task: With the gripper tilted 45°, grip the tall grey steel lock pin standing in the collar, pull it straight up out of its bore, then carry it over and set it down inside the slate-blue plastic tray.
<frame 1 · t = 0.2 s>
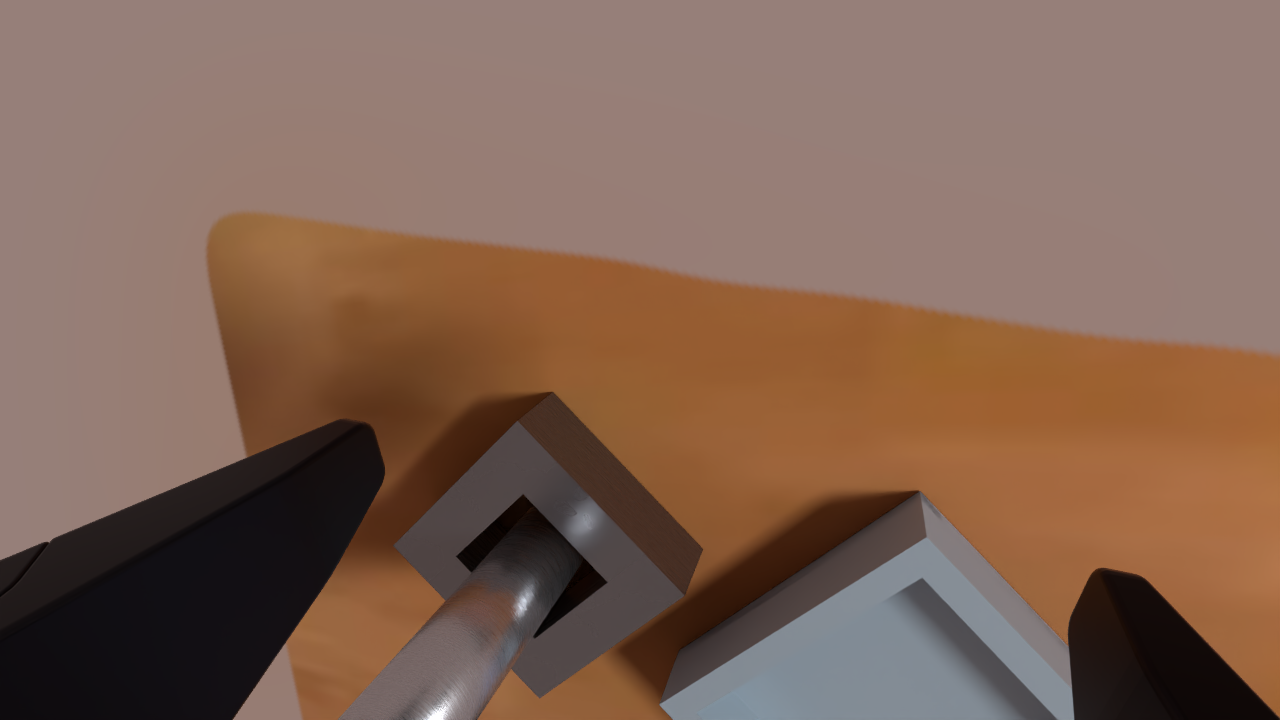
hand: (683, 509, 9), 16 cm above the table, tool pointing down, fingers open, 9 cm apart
lock pin: (480, 631, 23), in the pin collar
pin collar: (561, 527, 29), on the table
tray: (897, 693, 26), on the table
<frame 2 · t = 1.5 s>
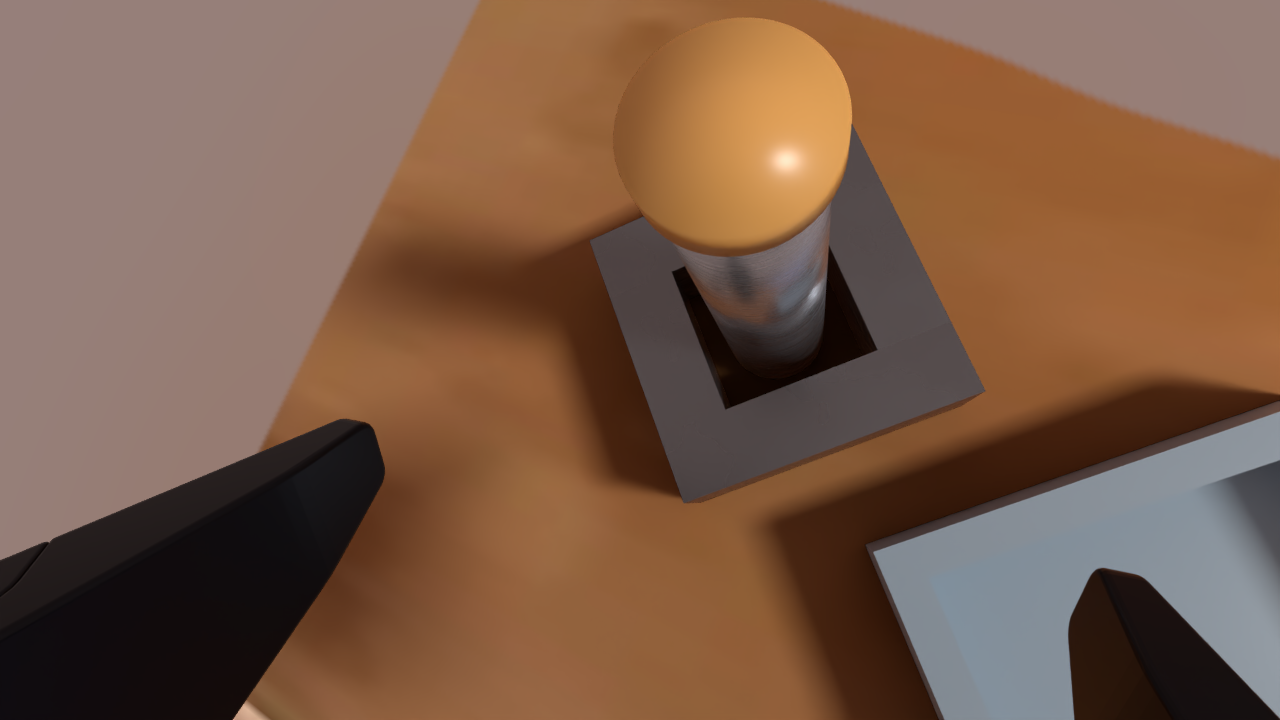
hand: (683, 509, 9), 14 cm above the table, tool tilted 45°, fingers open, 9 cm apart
lock pin: (760, 269, 16), in the pin collar
pin collar: (775, 333, 22), on the table
tray: (1181, 691, 18), on the table
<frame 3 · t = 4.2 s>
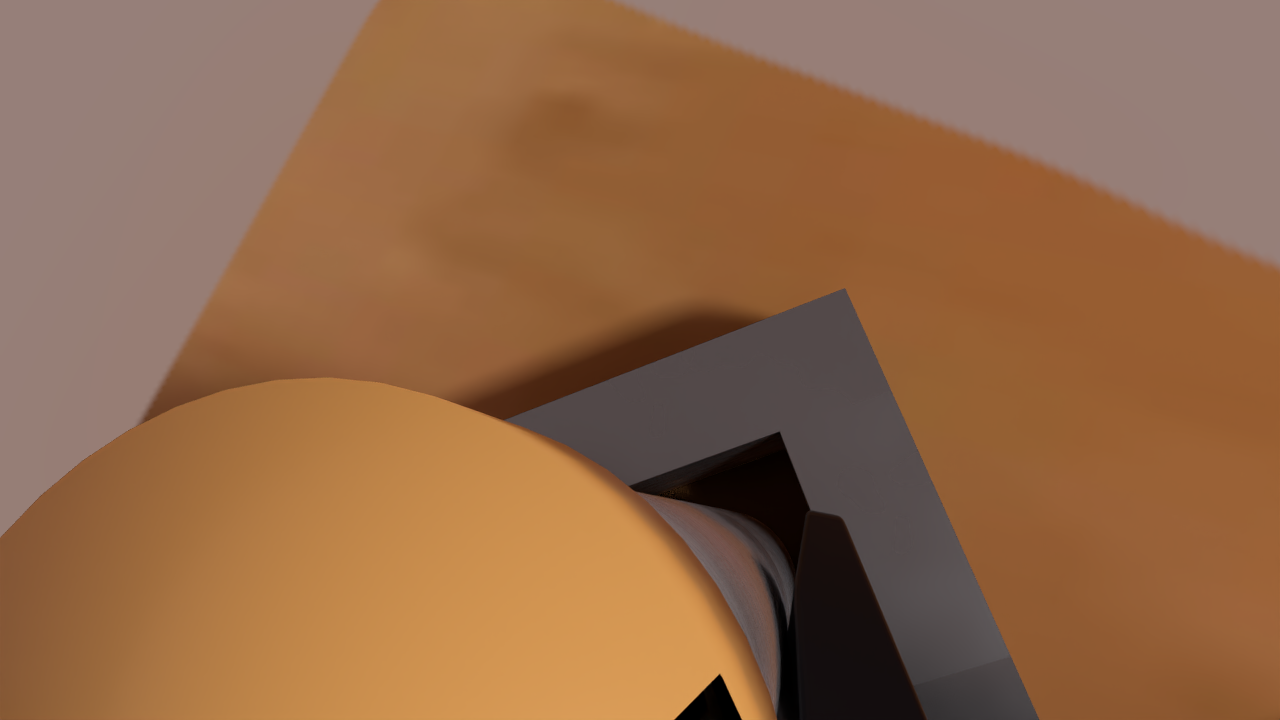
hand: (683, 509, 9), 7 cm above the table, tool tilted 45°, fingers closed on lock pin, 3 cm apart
lock pin: (661, 625, 8), in the pin collar, touching gripper
pin collar: (724, 583, 15), on the table
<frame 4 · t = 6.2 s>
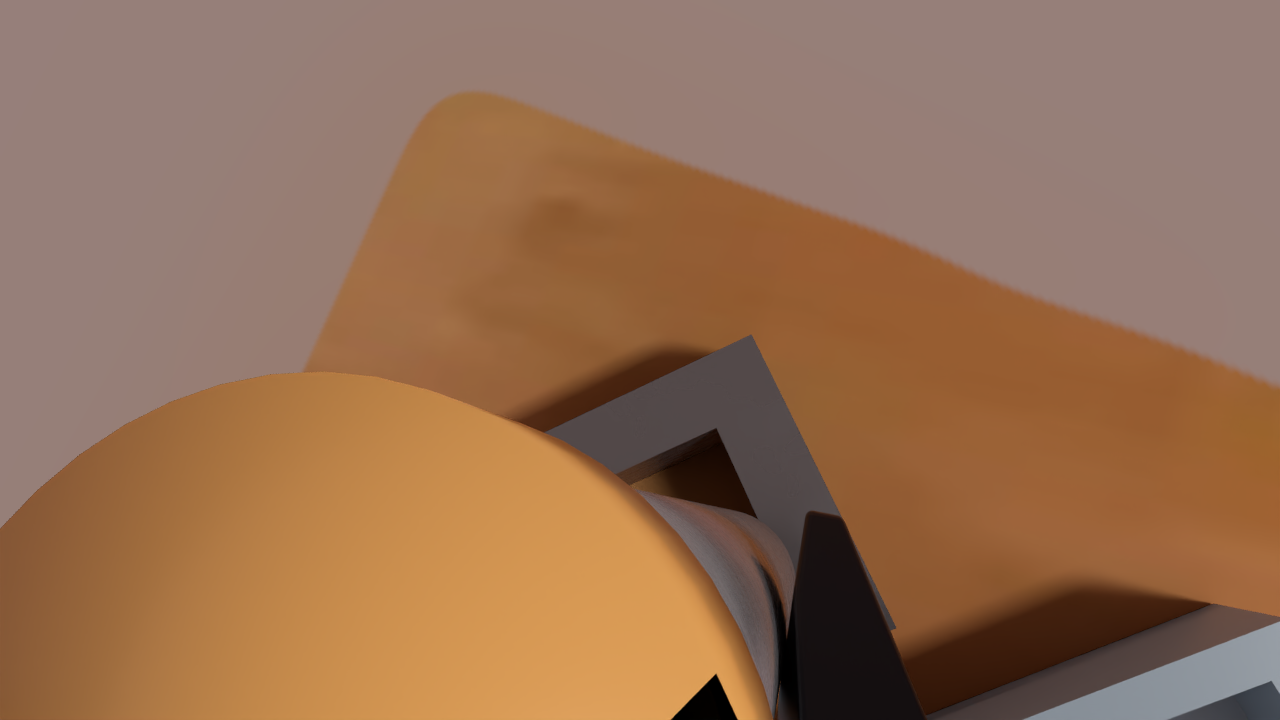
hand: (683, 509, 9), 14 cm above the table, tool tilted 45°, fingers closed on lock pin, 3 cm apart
lock pin: (660, 623, 8), point 14 cm above the table, touching gripper
pin collar: (693, 532, 22), on the table
when the fingers open (9 cm above the table, at t = 8.2 s): lock pin drops 1 cm, resting on tray.
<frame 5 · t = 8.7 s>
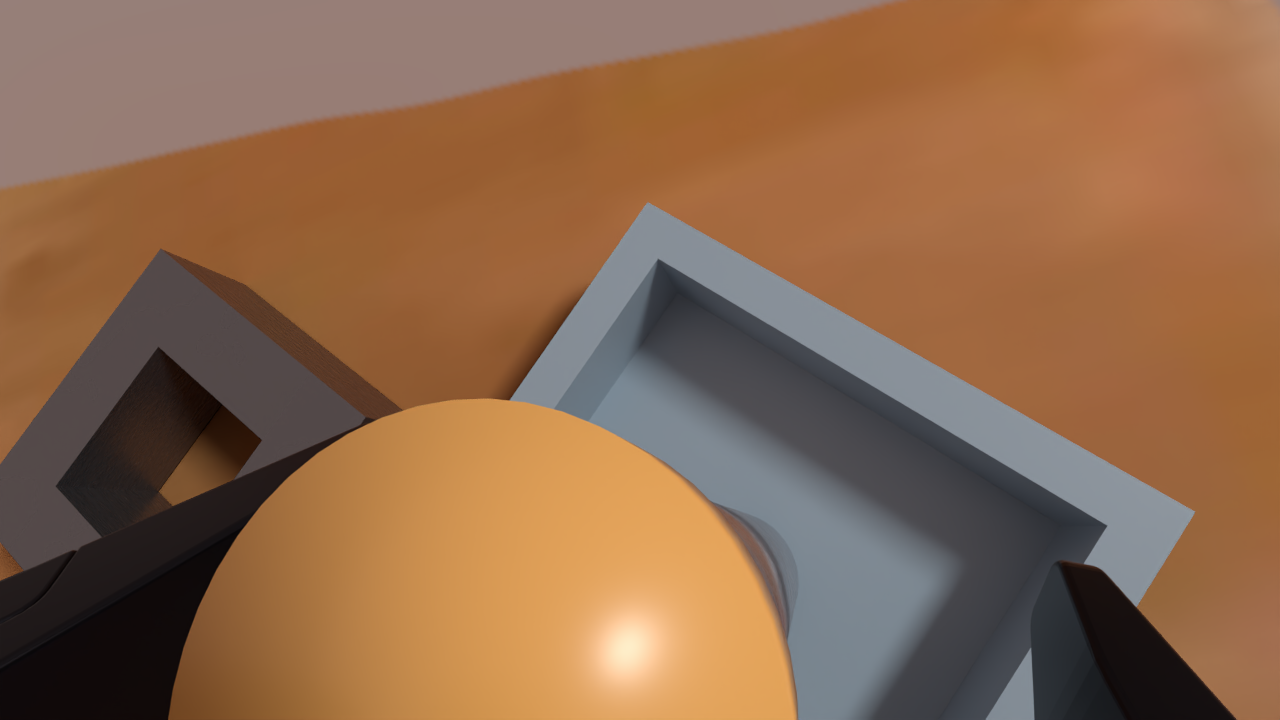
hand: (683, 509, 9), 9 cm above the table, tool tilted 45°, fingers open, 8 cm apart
lock pin: (680, 606, 10), in the tray, point 7 cm above the table
pin collar: (247, 472, 20), on the table
tray: (733, 576, 17), on the table
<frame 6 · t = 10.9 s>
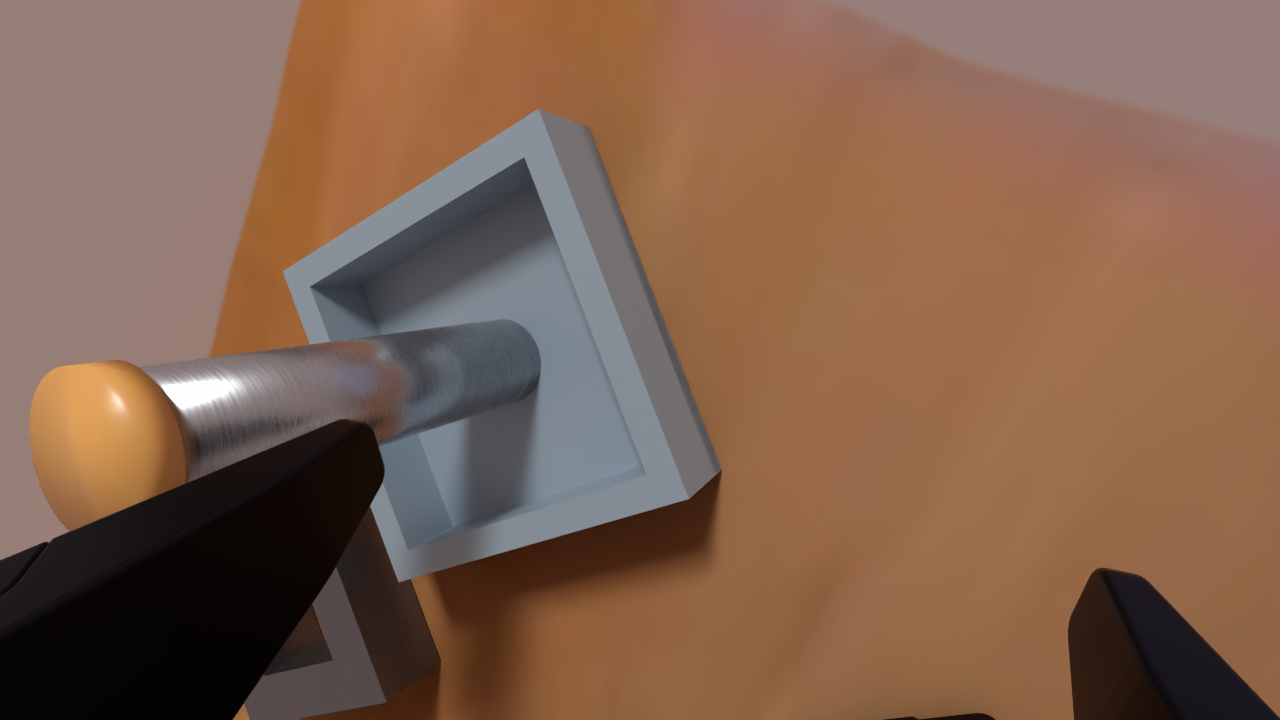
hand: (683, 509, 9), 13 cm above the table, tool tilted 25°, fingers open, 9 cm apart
lock pin: (360, 394, 19), in the tray, point 7 cm above the table
pin collar: (338, 585, 31), on the table
tray: (514, 359, 25), on the table
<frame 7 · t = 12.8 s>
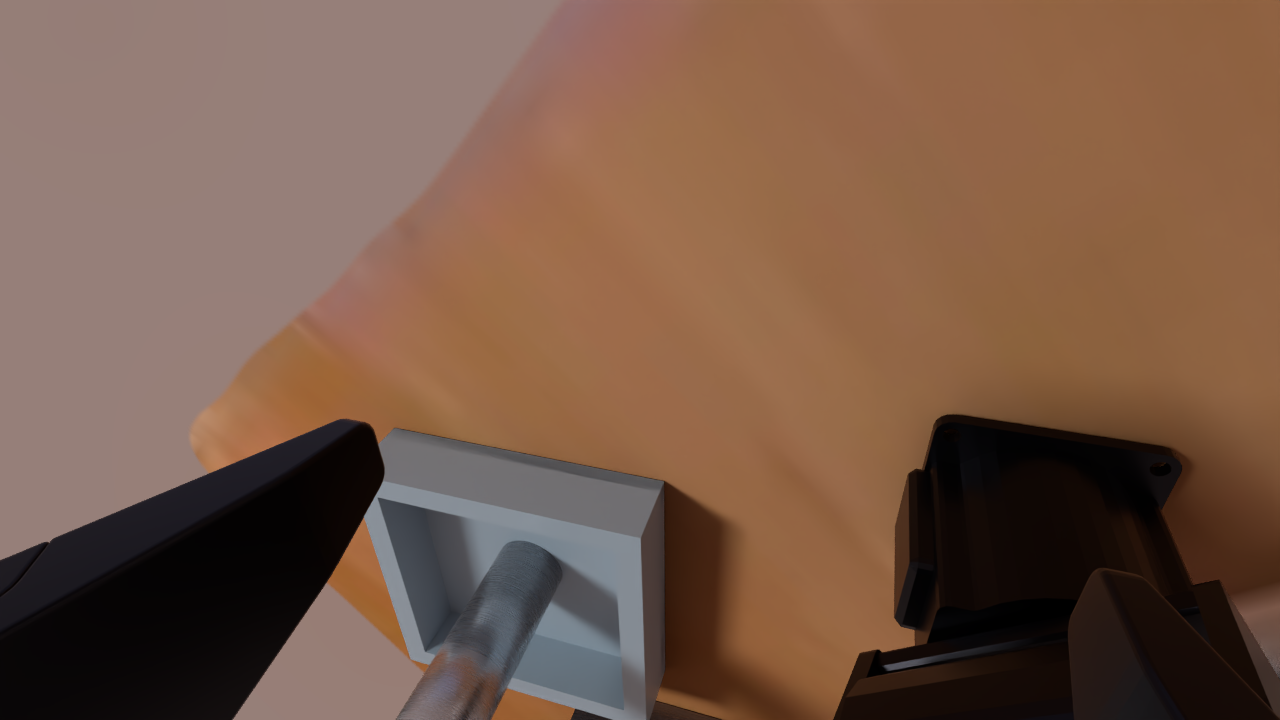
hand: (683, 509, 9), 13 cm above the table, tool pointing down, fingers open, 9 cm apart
lock pin: (455, 700, 26), in the tray, point 7 cm above the table
tray: (536, 555, 31), on the table
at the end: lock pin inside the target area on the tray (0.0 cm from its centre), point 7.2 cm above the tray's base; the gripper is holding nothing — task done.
